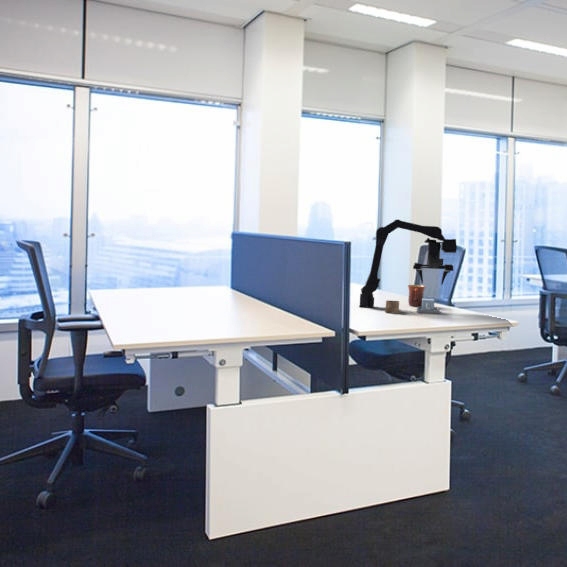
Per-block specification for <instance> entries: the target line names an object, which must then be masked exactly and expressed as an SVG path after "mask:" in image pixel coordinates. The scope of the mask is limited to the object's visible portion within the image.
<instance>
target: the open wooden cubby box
mask: <svg viewBox="0 0 567 567" xmlns="http://www.w3.org/2000/svg"><path fill="white" fill-rule="evenodd" d="M399 309H400V301H399V300H387V299H386V301H385V314H386V313H387V314H400V310H399Z"/></svg>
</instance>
